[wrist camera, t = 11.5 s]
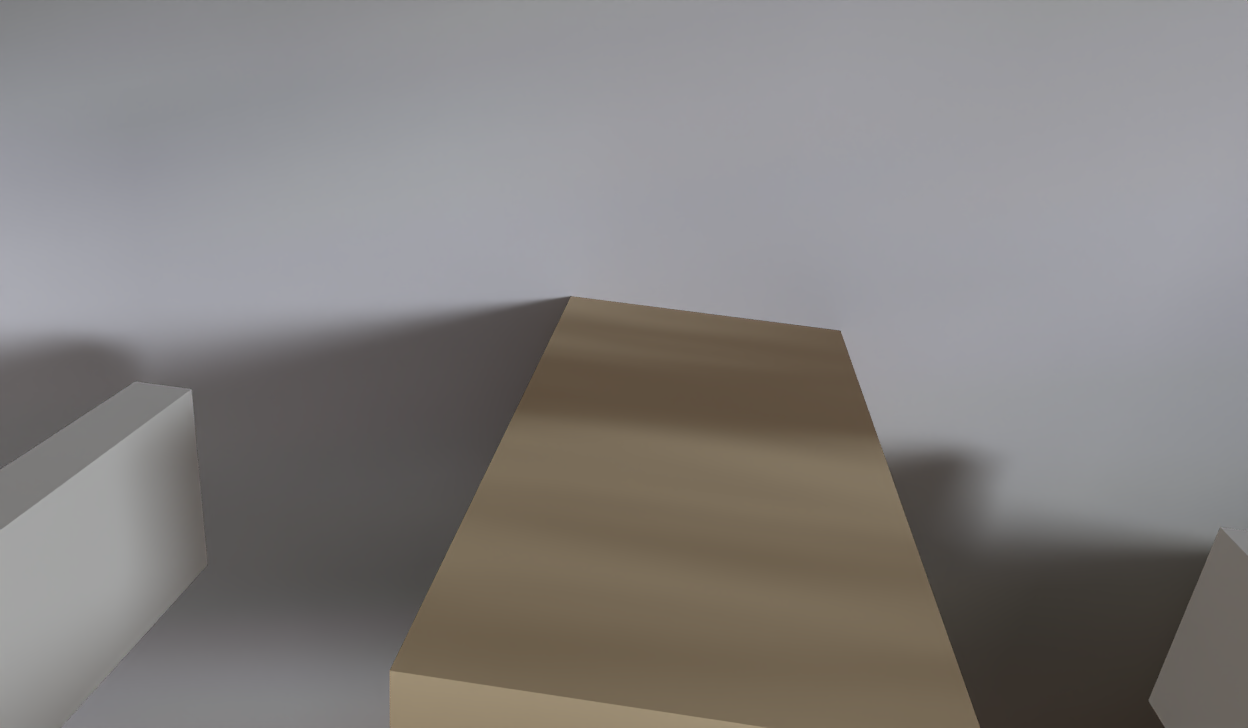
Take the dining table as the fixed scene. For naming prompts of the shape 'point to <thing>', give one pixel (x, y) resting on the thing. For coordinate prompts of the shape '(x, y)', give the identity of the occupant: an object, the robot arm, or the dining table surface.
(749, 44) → the dining table surface
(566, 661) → the tan wooden block
